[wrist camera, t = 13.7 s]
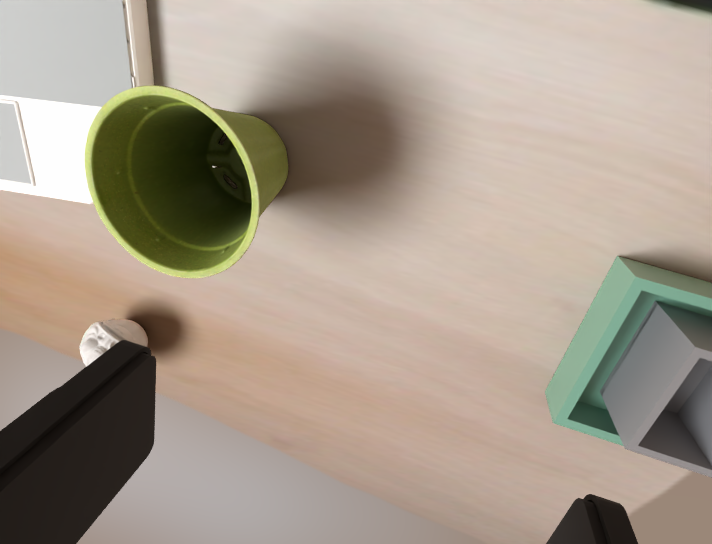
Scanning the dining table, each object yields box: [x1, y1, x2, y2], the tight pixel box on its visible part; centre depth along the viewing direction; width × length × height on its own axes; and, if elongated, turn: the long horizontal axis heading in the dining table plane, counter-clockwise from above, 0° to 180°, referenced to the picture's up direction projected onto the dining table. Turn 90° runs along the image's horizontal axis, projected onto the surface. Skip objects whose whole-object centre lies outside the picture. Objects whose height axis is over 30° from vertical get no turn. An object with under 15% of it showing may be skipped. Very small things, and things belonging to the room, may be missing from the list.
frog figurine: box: [79, 319, 148, 366], centre depth 44 cm, size 6×7×7 cm
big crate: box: [545, 256, 712, 446], centre depth 34 cm, size 14×14×4 cm
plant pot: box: [84, 85, 288, 278], centre depth 32 cm, size 12×12×11 cm
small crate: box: [600, 301, 712, 478], centre depth 32 cm, size 9×6×6 cm
